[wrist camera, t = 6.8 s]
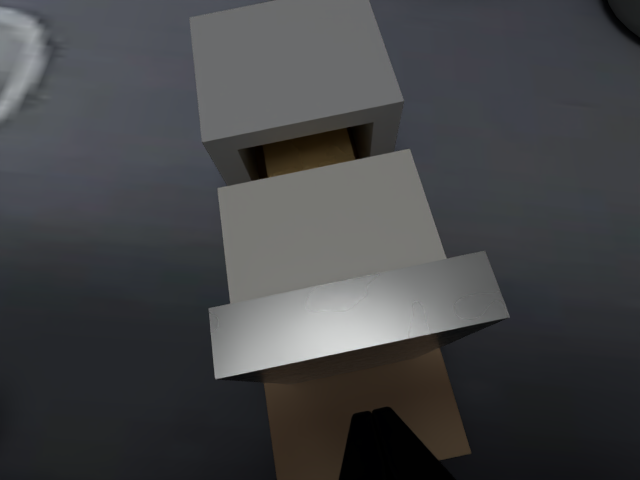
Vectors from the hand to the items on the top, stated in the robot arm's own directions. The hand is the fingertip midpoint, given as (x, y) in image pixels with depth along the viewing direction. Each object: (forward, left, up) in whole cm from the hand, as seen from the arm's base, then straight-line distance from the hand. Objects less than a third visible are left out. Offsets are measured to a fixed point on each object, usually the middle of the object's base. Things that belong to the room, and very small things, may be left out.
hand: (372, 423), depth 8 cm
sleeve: (+5, +3, -7) cm, 9 cm away
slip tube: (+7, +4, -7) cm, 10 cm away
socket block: (+11, +6, -7) cm, 14 cm away
